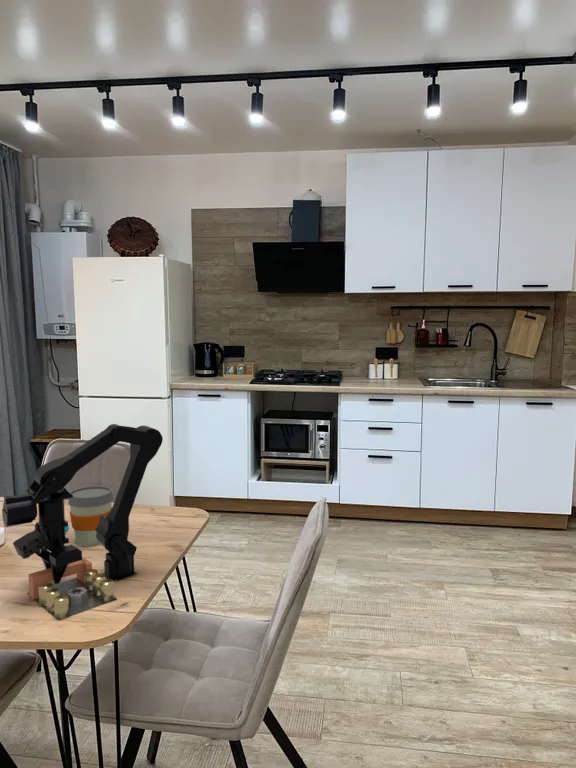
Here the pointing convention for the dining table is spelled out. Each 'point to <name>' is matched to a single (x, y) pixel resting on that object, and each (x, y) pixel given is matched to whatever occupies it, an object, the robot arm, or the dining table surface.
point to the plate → (95, 585)
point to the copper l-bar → (47, 575)
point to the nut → (77, 595)
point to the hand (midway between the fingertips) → (54, 581)
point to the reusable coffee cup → (89, 512)
